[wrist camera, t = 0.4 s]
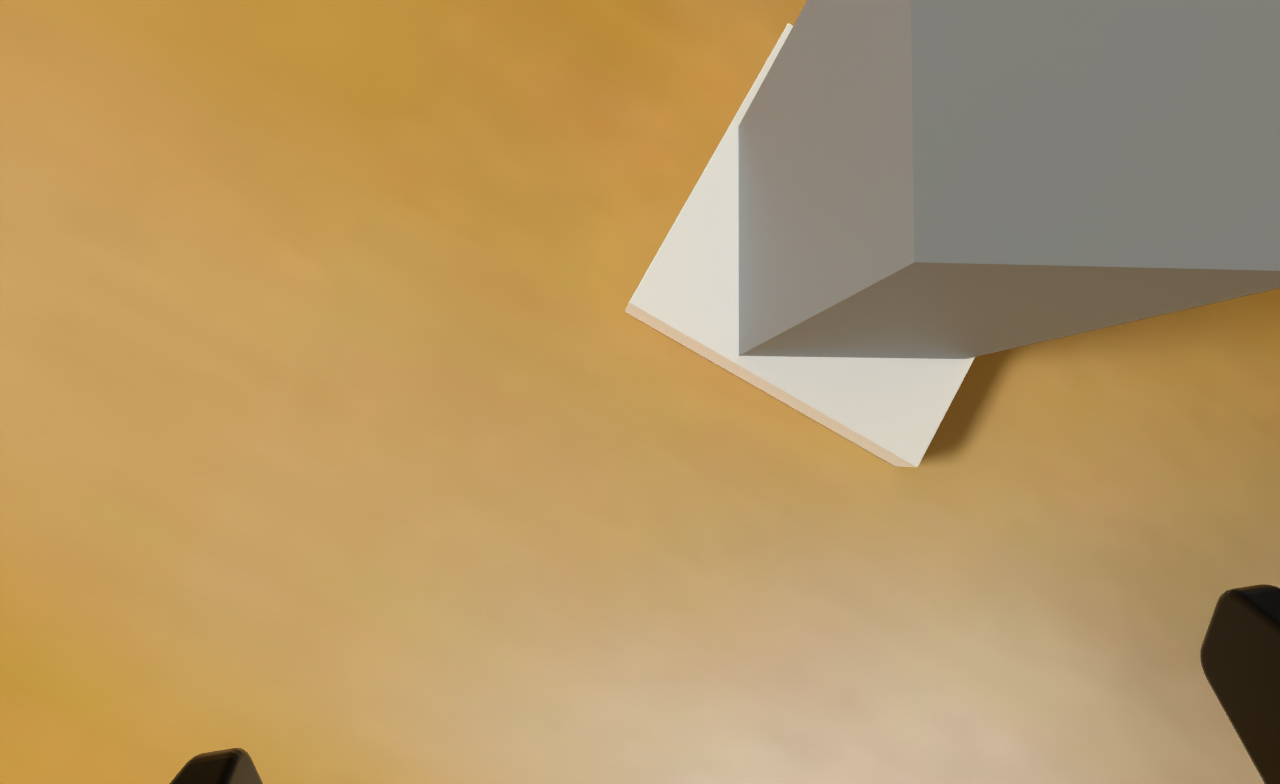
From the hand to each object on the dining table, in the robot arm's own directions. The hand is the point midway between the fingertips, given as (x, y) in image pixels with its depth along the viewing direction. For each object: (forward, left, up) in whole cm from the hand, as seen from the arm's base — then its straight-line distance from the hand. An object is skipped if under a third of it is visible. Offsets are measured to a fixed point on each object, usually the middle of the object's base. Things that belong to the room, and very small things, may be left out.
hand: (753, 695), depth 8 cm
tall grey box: (+2, -9, -13) cm, 16 cm away
